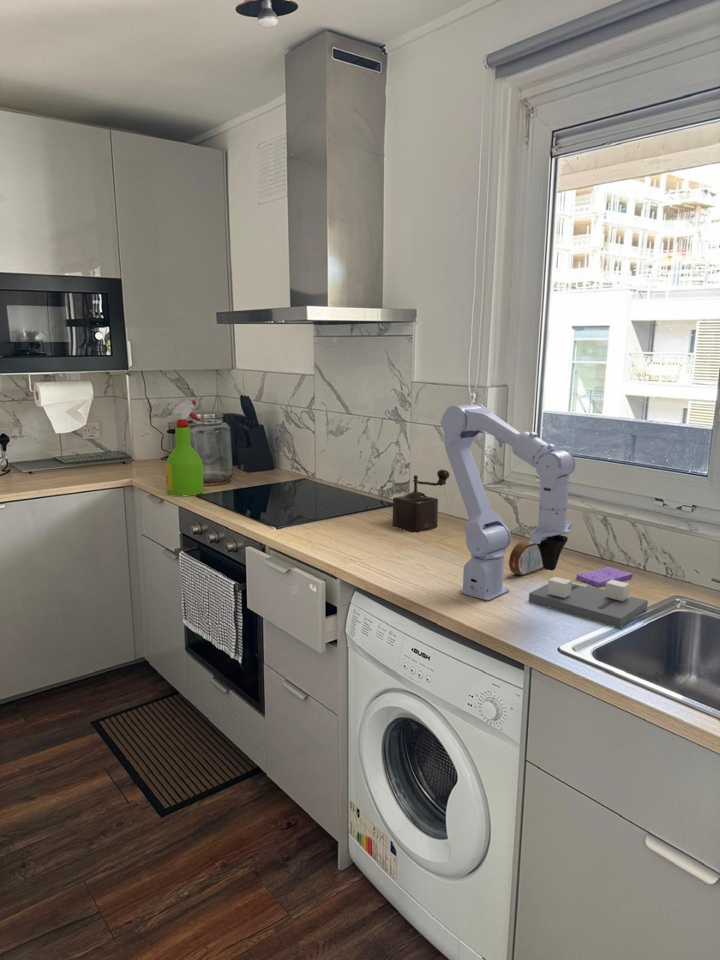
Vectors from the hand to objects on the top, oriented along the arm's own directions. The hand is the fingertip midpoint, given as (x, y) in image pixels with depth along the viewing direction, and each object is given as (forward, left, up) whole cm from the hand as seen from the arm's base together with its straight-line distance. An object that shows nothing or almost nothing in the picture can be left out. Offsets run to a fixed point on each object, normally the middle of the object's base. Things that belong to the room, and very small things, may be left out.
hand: (549, 568), depth 149 cm
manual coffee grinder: (+37, +64, -10) cm, 74 cm away
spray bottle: (+14, +160, -10) cm, 161 cm away
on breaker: (+12, -10, -7) cm, 17 cm away
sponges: (+29, 0, -10) cm, 31 cm away
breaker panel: (+9, -5, -9) cm, 14 cm away
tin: (+21, +16, -10) cm, 28 cm away
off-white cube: (+5, 0, -7) cm, 9 cm away
